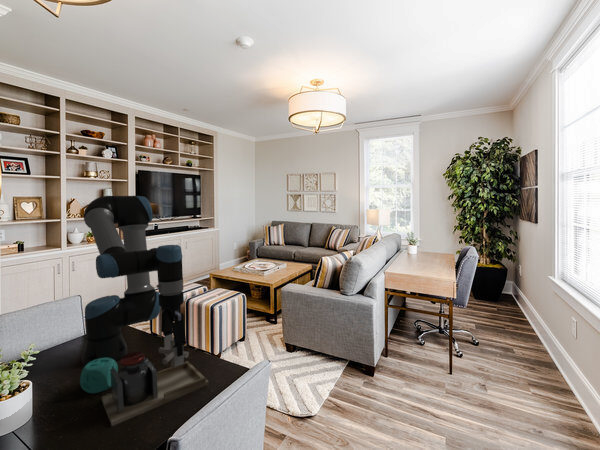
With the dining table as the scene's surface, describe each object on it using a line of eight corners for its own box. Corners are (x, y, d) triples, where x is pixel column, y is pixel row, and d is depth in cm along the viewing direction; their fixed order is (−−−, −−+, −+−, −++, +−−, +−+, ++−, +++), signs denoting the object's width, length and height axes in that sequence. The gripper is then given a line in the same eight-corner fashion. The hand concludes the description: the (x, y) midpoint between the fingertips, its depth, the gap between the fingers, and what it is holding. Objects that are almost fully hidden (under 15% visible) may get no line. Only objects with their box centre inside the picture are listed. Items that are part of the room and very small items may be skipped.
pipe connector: (179, 378, 96) (178, 350, 94) (150, 373, 97) (149, 345, 95) (195, 359, 105) (195, 333, 103) (169, 354, 107) (168, 328, 105)
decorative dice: (107, 392, 98) (106, 368, 97) (80, 395, 96) (78, 371, 96) (118, 378, 106) (117, 356, 105) (93, 380, 104) (92, 358, 104)
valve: (112, 400, 93) (109, 357, 92) (148, 386, 100) (146, 346, 99) (119, 417, 86) (116, 370, 85) (158, 401, 93) (155, 357, 92)
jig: (101, 400, 94) (101, 391, 93) (190, 366, 112) (190, 359, 112) (111, 426, 82) (111, 417, 82) (208, 384, 101) (208, 376, 101)
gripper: (148, 288, 104) (152, 351, 106) (170, 302, 88) (174, 377, 90) (171, 284, 109) (173, 344, 111) (195, 297, 93) (198, 367, 95)
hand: (174, 359), depth 100 cm, fingers closed on pipe connector, 9 cm apart
